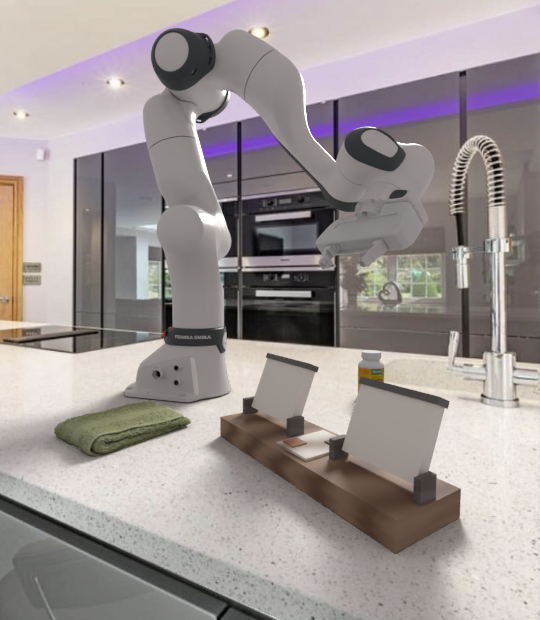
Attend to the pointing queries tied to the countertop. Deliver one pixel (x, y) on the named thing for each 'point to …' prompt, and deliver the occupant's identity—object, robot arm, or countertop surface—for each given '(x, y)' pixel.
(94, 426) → the washcloth
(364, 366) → the supplement bottle
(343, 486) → the switch base
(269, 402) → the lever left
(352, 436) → the grey flat panel
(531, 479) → the countertop surface
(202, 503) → the countertop surface
